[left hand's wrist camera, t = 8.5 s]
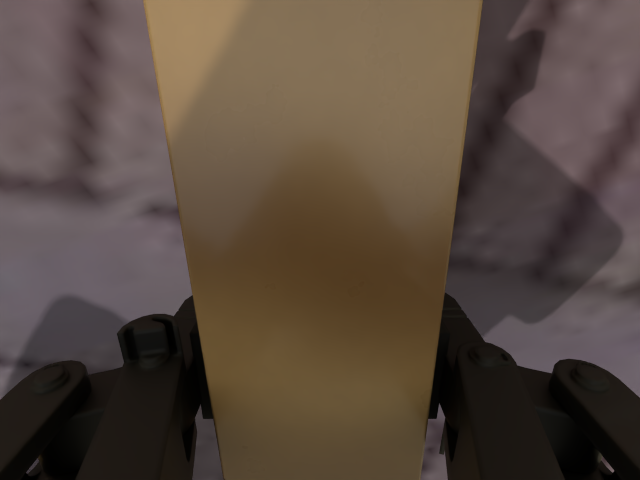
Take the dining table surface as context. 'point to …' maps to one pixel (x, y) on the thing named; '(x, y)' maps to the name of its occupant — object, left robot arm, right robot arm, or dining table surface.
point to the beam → (317, 218)
